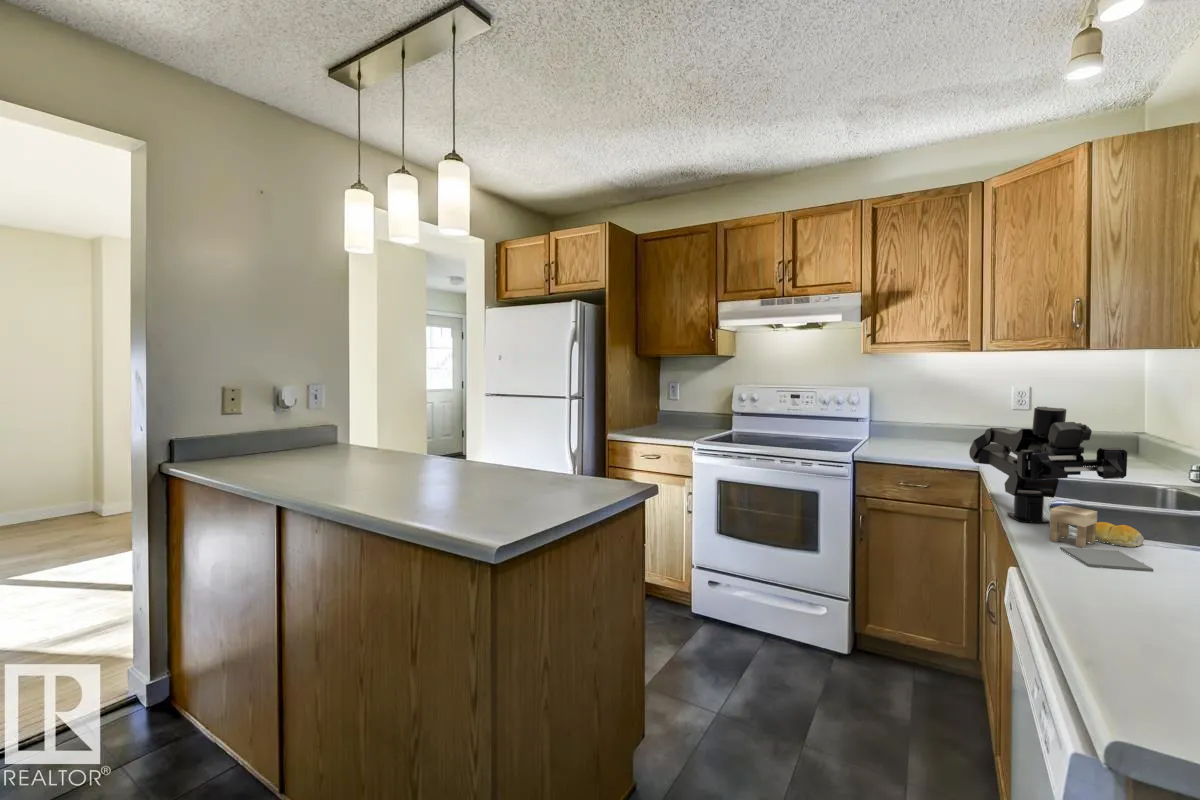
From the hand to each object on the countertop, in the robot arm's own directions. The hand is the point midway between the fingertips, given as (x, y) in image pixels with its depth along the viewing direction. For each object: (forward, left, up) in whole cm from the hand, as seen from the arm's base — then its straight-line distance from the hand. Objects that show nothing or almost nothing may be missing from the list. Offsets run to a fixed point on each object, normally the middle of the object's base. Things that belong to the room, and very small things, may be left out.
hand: (1094, 475), depth 109 cm
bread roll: (-11, +10, -17) cm, 23 cm away
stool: (-8, +1, -16) cm, 18 cm away
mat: (+3, +1, -16) cm, 16 cm away
